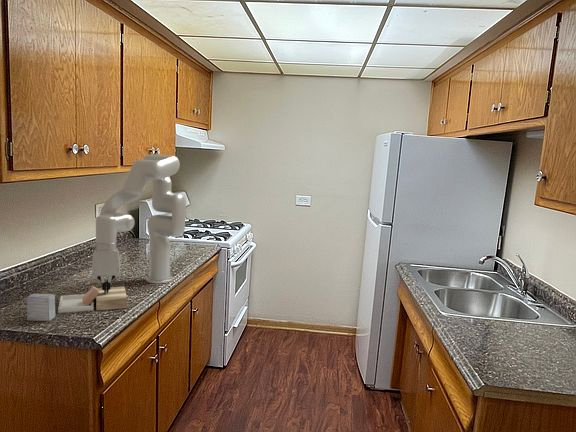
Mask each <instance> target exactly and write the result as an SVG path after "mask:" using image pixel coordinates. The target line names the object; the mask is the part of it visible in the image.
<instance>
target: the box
mask: <svg viewBox="0 0 576 432" xmlns="http://www.w3.org/2000/svg"><path fill="white" fill-rule="evenodd" d="M85 294H86V293H84V294H69V295H67V294H66V295H61V296H60V298H59V303H58V307H57V314H58V315H59V314H72V313H82V312H94V311H95V310H94V309H95V307H94V306H95V305H94V304H95V302H94V300H95V298H94V299H93V300H92V302H91V303H90V304H89V305H88V306H87V305H85V304H84V303H83V302H82V298H83V296H84V295H85Z"/></svg>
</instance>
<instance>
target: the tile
mask: <svg viewBox="0 0 576 432" xmlns="http://www.w3.org/2000/svg"><path fill="white" fill-rule="evenodd" d="M84 294H85V295H84V296H83V298H82V302H83V303H84V304H85V305H87V306H88V305H89V304H90V303H91V302H92V300H93V299H94V300H95V299H96V296H97V295H98V289H97V287H96V286H94V285H93V286H91V288H89V290H88V291H87V292H86V293H84Z"/></svg>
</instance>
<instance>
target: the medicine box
mask: <svg viewBox="0 0 576 432" xmlns="http://www.w3.org/2000/svg"><path fill="white" fill-rule="evenodd" d="M55 296H56V295H55V294H53V293H51V294H50V293H32V294H30V295H29V296H26V320H27V321H35V322H36V321H37V322H38V321H39V322H51V321H52V320H53V319H55V318H56V299H55V298H56V297H55Z"/></svg>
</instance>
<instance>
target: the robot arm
mask: <svg viewBox="0 0 576 432" xmlns="http://www.w3.org/2000/svg"><path fill="white" fill-rule="evenodd" d="M180 167H181V166H180V160H179V158H178V157H177V156H175V155H171V154H170V155H169V154H156V153H152V154H151V153H150V154H145V155H144V156H143V159H137V160H135V161H134V162H133V163H132V165H131V167H130V169H129V171H128V174H127V176H126V179H125V181H124V183H123V185H122V187H121V188H120V189H119V190H118V191H115V193H114V194H112V195H111V196H110V197H109V198H108V199H107V200H106V201H105V203H104V204H103V206H102V207H101V210H100V212H99V214H98V216H96V218H95V242H94V243H92V244H91V248H94V250H93V253H92V263H91V265H92V267H91V273H92V274H91V278H92V279H96V280H98V281H100V283H101V288H102V290H104V293H106V292H107V293H108V292H109V290H110V287H111V282H112V281H114V279H116V278H120V277H121V276H122V275H121V259H120V258H121V257H120V252H119V249H118V248H117V234H118V233H127V232H129V231H131V230H132V229H133V228H134V227H135V218H134V217H133V216H132V215H131V214H128V213H125V212H124V213H123V212H122V213H121V212H117V211H118V210H119V208H120V207H122V206H123V205H125V204H128V203H130V202H133V201H135V200H138V199H140V198H141V197H142V196H143V194H144V191H145V189H146V187H147V184H148V182H149V181H151V180H152V192H151V193H152V197H151V207H152V209H153V211H155V212H158V213H167V214H171V215H166V214H165V215H164V214H153V215H152V216H151V217H149V218H148V221H147V224H146V225H147V231H148V237H149V238H148V239H149V256H148V257H149V259H148V260H149V261H148V263H149V267H148V268H149V271H148V272H149V274H148V276H147V277H145V282H147V283H148V284H167V283H170V282H172V281H174V277H173V276H172V275H170V274H171V242H170V239H169V237H171V238H172V237H173V238H174V237H175V238H178V237H181V236H182V235H183V234H184V233H185V229H186V220H187V219H186V216H187V200H186V198H185V196H184V195H183V194H182V193H178V192H173V191H172V184H173V183H172V179H171V176H174V175H175V174H176V173H178V172H179V169H180ZM105 277H107V280H106V279H105Z"/></svg>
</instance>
